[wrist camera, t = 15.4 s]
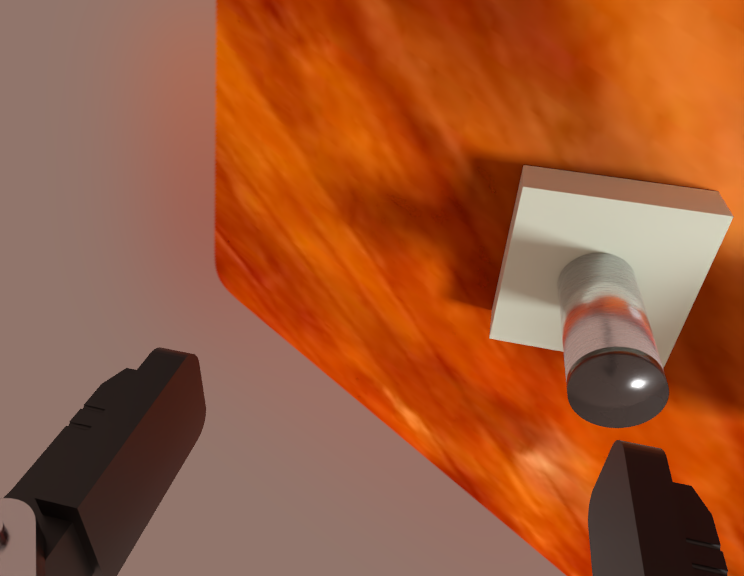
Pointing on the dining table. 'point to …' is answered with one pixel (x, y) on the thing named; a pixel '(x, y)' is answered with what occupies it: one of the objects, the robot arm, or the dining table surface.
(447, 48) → the dining table surface
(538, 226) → the stand
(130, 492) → the robot arm
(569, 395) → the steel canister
